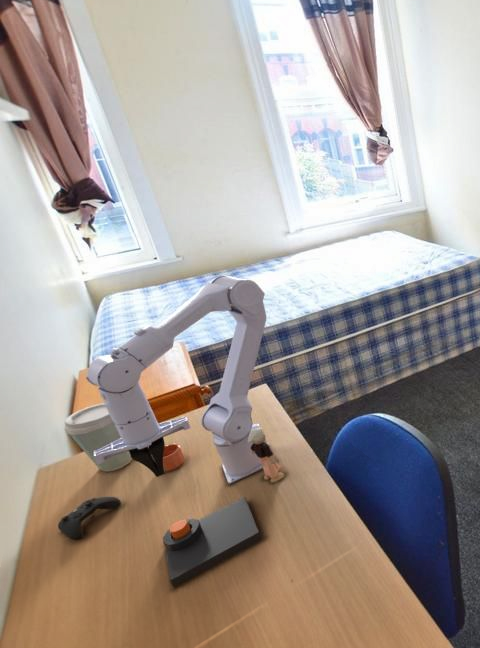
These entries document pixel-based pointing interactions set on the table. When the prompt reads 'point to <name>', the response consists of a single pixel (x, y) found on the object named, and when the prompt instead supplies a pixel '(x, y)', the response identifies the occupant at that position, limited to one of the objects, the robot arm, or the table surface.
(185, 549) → the grey push button box
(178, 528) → the tare button
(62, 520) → the game controller
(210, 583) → the table surface
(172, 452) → the dish
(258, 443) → the grandmother figurine
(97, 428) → the disposable coffee cup
